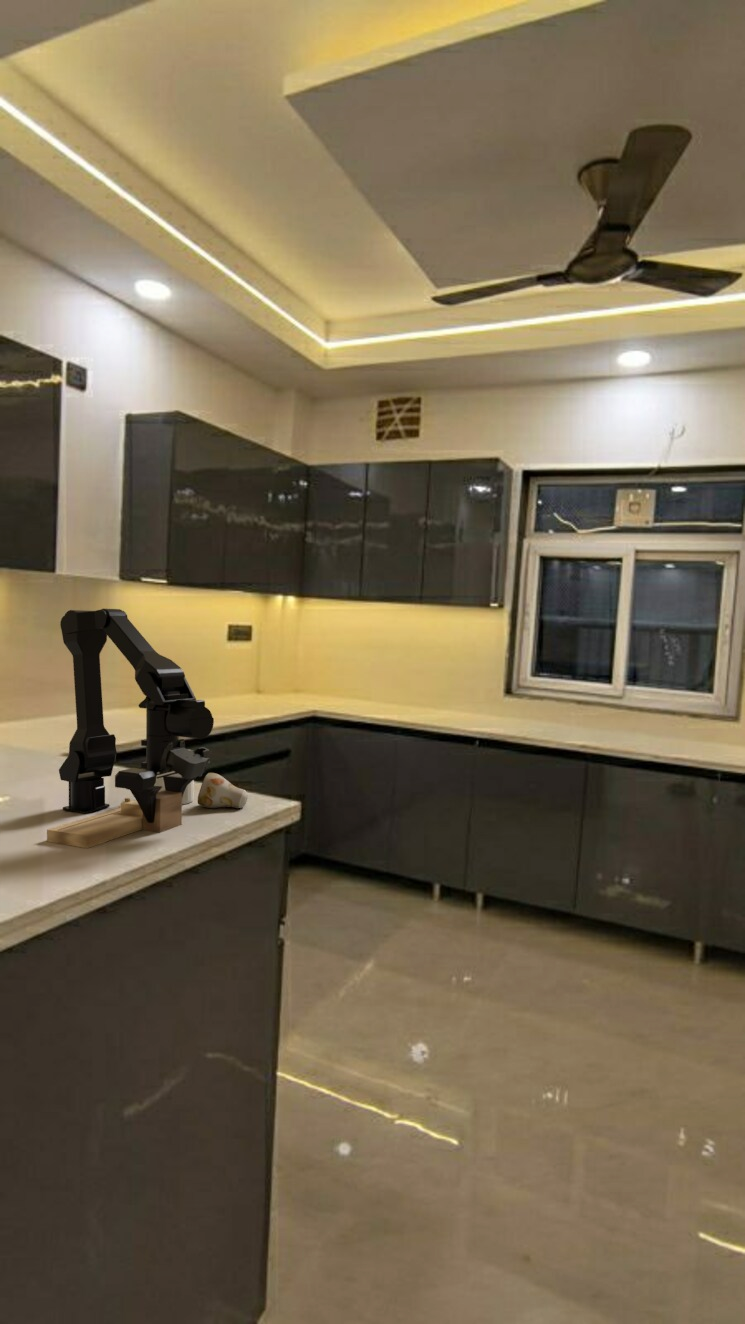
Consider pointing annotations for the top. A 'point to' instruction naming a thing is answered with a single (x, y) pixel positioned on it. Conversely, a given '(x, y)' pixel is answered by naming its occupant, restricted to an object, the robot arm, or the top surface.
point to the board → (96, 829)
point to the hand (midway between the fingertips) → (162, 818)
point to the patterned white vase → (220, 793)
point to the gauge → (159, 811)
